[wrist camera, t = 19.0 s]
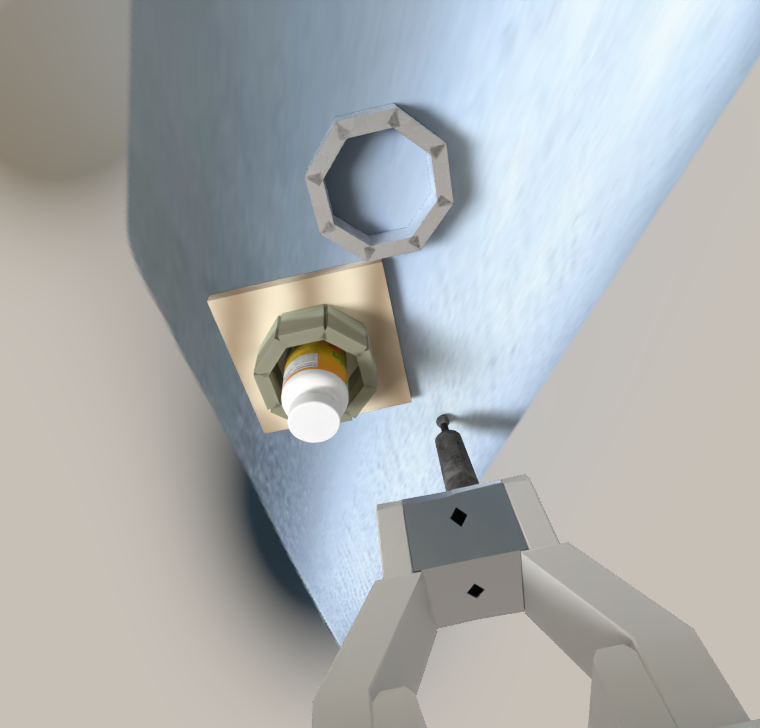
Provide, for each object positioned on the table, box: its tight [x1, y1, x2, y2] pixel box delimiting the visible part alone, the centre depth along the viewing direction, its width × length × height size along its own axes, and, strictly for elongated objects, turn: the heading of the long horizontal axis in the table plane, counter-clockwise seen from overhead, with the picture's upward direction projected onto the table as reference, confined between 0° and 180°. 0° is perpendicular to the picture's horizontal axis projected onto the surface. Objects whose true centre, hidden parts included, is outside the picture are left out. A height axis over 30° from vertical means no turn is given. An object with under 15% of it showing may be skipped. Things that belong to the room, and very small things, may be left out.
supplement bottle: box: [281, 340, 349, 443], centre depth 42 cm, size 5×5×10 cm
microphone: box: [435, 416, 479, 492], centre depth 45 cm, size 7×7×20 cm
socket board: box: [207, 259, 412, 433], centre depth 45 cm, size 15×15×5 cm
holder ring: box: [305, 103, 454, 262], centre depth 39 cm, size 10×10×2 cm
